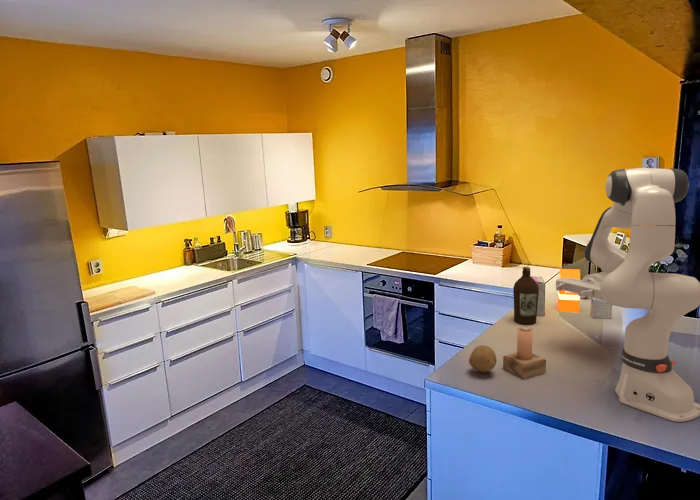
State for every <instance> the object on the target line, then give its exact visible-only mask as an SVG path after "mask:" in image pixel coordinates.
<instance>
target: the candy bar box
mask: <svg viewBox="0 0 700 500" xmlns="http://www.w3.org/2000/svg"><path fill="white" fill-rule="evenodd" d="M530 276H531V278H532V279H533V280H534V281H535V282H536V283H537V285H538V288H539V293H538V304H537V317H545V314H546V313H545V312H546V306H545V305H546V281H545V280H544V278H543V277H542V276H540V275H539V276H538V275H536V276H533V275H530Z"/></svg>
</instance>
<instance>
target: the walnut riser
mask: <svg viewBox="0 0 700 500" xmlns="http://www.w3.org/2000/svg"><path fill="white" fill-rule="evenodd" d="M502 369H504V370H505V371H507V372H510V373H511V374H513V375H515V376H517V377H519V378H521V379H523V380H527V379H529V378H532V377H536V376H539V375H541V374H545V373H546V372H547V359H545V358H544V357H542V356H539V355H537V354H535V353H533V352H532V358H531V359H529V360H523V359H519V358H518V357H517V351H515V352H512V353H511V352H510V353H508V354H505V355H503V358H502Z"/></svg>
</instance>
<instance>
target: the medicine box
mask: <svg viewBox="0 0 700 500" xmlns="http://www.w3.org/2000/svg"><path fill="white" fill-rule="evenodd" d="M612 313H613V305H611V304H608V303H607V302H606V301H605V300H600V299H596V298H590V313H589V314H590V317H591V318H592V319H604V320H605V319H607V320H611V319H612Z"/></svg>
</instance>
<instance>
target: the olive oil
mask: <svg viewBox="0 0 700 500" xmlns="http://www.w3.org/2000/svg"><path fill="white" fill-rule="evenodd" d="M521 273H522V274H521V277H520V278H518V279H517V280H516V281H515V283H514V284H513V288H512V289H513V290H512V291H513V321H514V323H516V324H517V325H521V326H532V325H535V324H536V323H537V317H538V316H537V304H538V293H539V288H538V285H537V283H536V282H535V281H534V280H533V279H532V278H531V276H532V275H531V267H529V266H523V267H522V271H521Z"/></svg>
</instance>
